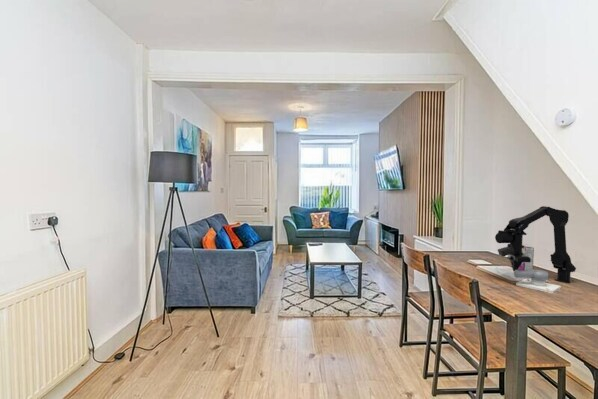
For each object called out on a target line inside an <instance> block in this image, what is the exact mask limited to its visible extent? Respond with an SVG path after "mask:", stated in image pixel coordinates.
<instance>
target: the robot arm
mask: <svg viewBox="0 0 598 399" xmlns="http://www.w3.org/2000/svg"><path fill="white" fill-rule="evenodd" d="M545 216H547V217H548V218H549V222H550V223H551V225H552V226H553V239H554V252H553V253H552V254H551V253H550V262H551V264H552V266H553V268H554V269H557V272H556V273H557V275H556V276H557V277H556V278H554V281H558V282H562V283H567V284H570V283H572V282H573V279H571V273H575V272H576V269H577V267H576V266H575V265H574V264H573V263H572V259H571V257H570V255H569V253H568V252H567V240H566V237H567V236H566V225H568V222H569V213H568V211H567V210H564V209H556V208H553V207H551V206H546V205H544V206H543V205H542V206H540V207H538V208H537V209H535V210H532V211H531V212H529V213H527V214H526V215H523V216H521V217H516V218H512V219H511V220H509V221H508V224H507V225H506V226H505V228H504V229H503V230H497V231H498V232H497V233H496V234H495V236H494V239H495V241H496V243H498V244H507V246H504V247H500V248H497V253H498V255H499V256H501V258H502V257H506V256H507V257H506V258H507V259H508V260H509V262H510V264H511V268H512V271H513V272H514V271H515V270H517V269H518V268H519V266H520V265H521V264H522V262H531V258H530V257H528V256H526V255H524V253H522V248H524V246H523V245H522V244H523V239H524V238H523V236H527V234H528V233H526V232H525V230H526V229H527V228H529V226H530V224H532V223H533V222H536V221H538V220H540V219H541V218H544V217H545Z"/></svg>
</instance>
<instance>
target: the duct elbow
mask: <svg viewBox="0 0 598 399" xmlns="http://www.w3.org/2000/svg"><path fill="white" fill-rule="evenodd" d="M513 272H514V273H513V275H514V277H515V278H519V279H520V278H521V279H531V278H532V279H535V280H542V281H546V282H547V281H549V271H545V270H543V269H534V268H533V269H532V270H515V271H513Z"/></svg>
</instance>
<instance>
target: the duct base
mask: <svg viewBox="0 0 598 399" xmlns="http://www.w3.org/2000/svg"><path fill="white" fill-rule="evenodd" d="M530 280H531V281H525V280H524V279H522V280H520V281H518V282H516V283H515V286H517V287H522V288H527V289H531V290H536V291H541V292H546V293H549V294H554V293H556V292H558V291H559V290H560V289H561V287H562V286H561V285H559V284H558V285H557V284H553V283H548V282H547V280H546V281H542V280H535V279H532V278H530Z"/></svg>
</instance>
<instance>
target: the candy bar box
mask: <svg viewBox="0 0 598 399" xmlns="http://www.w3.org/2000/svg"><path fill="white" fill-rule="evenodd" d="M522 245H523V246H524V248H522V253H524V255H526V256H528V257H530V258H531V262H522V264H521V265H520V266H519V268H518V269H517V270H532V269H534V256H535V255H534V254H535V253H534V252H535V247H534V246H531V245H528V244H527V243H522Z"/></svg>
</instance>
